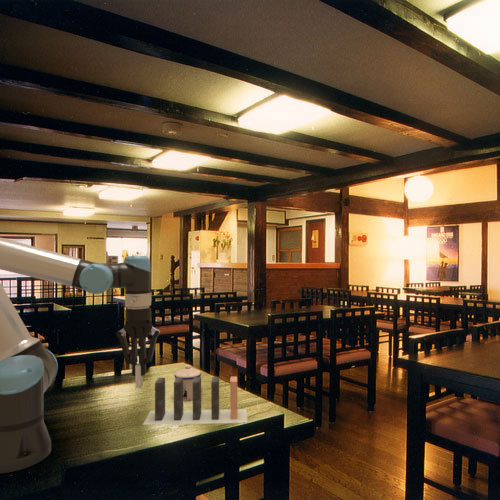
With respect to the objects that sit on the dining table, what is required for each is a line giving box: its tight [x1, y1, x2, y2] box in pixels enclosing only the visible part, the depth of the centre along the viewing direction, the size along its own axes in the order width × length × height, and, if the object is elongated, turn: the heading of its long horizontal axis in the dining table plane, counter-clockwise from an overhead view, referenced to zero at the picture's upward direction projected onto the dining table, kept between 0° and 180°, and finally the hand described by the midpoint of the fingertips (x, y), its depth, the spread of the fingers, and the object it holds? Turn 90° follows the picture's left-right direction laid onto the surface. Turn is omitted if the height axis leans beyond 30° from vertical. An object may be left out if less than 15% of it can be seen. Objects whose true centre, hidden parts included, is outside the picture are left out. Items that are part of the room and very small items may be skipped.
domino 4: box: [210, 376, 220, 420], centre depth 117 cm, size 2×5×11 cm, turn 1°
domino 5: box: [229, 376, 238, 419], centre depth 117 cm, size 2×5×11 cm, turn 1°
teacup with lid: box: [174, 364, 203, 402], centre depth 132 cm, size 12×9×12 cm
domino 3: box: [192, 376, 202, 420], centre depth 117 cm, size 2×5×11 cm, turn 1°
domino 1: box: [154, 377, 166, 421], centre depth 116 cm, size 2×5×11 cm, turn 1°
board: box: [142, 408, 248, 426], centre depth 116 cm, size 30×10×1 cm, turn 92°
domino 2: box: [173, 377, 184, 420], centre depth 116 cm, size 2×5×11 cm, turn 2°
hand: (139, 386), depth 116 cm, fingers closed
